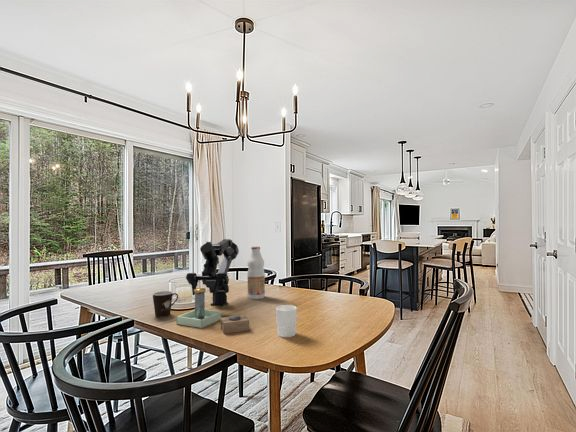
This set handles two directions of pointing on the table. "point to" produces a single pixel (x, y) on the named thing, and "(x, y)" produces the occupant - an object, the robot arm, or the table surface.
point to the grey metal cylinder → (199, 303)
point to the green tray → (191, 321)
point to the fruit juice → (256, 275)
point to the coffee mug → (163, 303)
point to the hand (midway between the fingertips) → (203, 294)
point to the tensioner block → (234, 324)
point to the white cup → (286, 320)
